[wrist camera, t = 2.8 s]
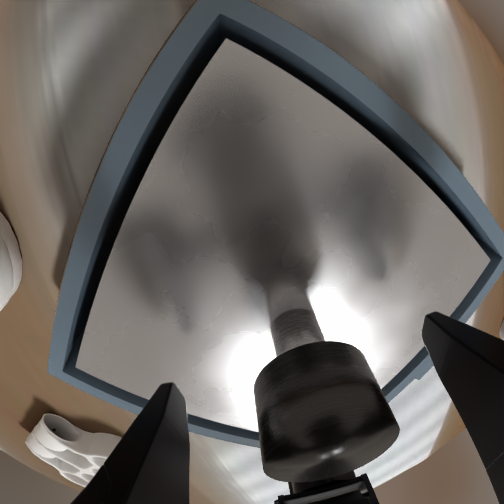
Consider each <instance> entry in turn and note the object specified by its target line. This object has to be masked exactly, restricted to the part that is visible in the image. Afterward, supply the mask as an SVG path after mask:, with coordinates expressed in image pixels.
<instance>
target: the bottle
mask: <svg viewBox="0 0 504 504" xmlns="http://www.w3.org/2000/svg"><path fill="white" fill-rule="evenodd" d="M21 278H22V259H21V255H20V251H19V246H18V242H17V240H16V237H15V235H14V233H13V231H12V229H11V227H10V224H9V222H8V221H7V220H6V219H5V217H4V216H3V214H2V213H1V212H0V311H1V310H2V309H3V307H4V306H5V305H6V304H7V302H8V301H9V299H10V297H11V296H12V295H13V294H14V293H15V292H16V290H17V289H18V287H19V284H20V281H21Z"/></svg>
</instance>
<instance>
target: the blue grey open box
mask: <svg viewBox="0 0 504 504" xmlns="http://www.w3.org/2000/svg"><path fill="white" fill-rule="evenodd" d="M226 38H227V39H229V40H231V41H233V42H235V43H237V44H238V45H240V46H242V47H244V48H246V49H248V50H250V51H252V52H253V53H255V54H257V55H259V56H260V57H262V58H264V59H266V60H267V61H269V62H271V63H272V64H274V65H276V66H277V67H279V68H281V69H282V70H284V71H286V72H287V73H289V74H290V75H292V76H293V77H295V78H297V79H298V80H300V81H301V82H303V83H304V84H306V85H307V86H309V87H310V88H312V89H313V90H315V91H316V92H317V93H319V94H320V95H322V96H323V97H325V98H326V99H327V100H329V101H330V102H331V103H333V104H334V105H336V106H337V107H338V108H340V109H341V110H342V111H343V112H345V113H346V114H347V115H349V116H350V117H351V118H353V119H354V120H355V121H356V122H358V123H359V124H360V125H361V126H363V127H364V128H365V129H366V130H367V131H369V132H370V133H371V134H372V135H373V136H375V137H376V138H377V139H378V140H379V141H380V142H382V143H383V144H384V145H385V146H386V147H387V148H388V149H390V150H391V151H392V152H393V153H394V154H395V155H396V156H397V157H398V158H399V159H401V160H402V161H403V162H404V163H405V164H406V165H407V166H408V167H409V168H410V169H411V170H412V171H413V172H414V173H415V174H416V175H417V176H418V177H419V178H420V179H421V180H422V181H423V182H424V183H425V184H426V185H427V186H428V187H429V188H430V189H431V190H432V191H433V192H434V193H435V194H436V195H437V196H438V197H439V198H440V199H441V201H442V202H443V203H444V204H445V205H446V206H447V207H448V208H449V209H450V211H451V212H452V213H453V214H454V215H455V216H456V217H457V219H458V220H459V221H460V222H461V223H462V224H463V226H464V227H465V228H466V229H467V230H468V232H469V233H470V234H471V235H472V237H473V238H474V239H475V240H476V242H477V243H478V244H479V245H480V247H481V248H482V249H483V251H484V252H485V253H486V255H487V256H488V257H489V259H490V262H489V263H488V265H487V266H486V268H485V269H484V271H483V272H482V274H481V275H480V277H479V278H478V280H477V281H476V283H475V284H474V285H473V287H472V288H471V289H470V291H469V292H468V294H467V295H466V296H465V298H464V299H463V300H462V302H461V303H460V304H459V305H458V307H457V308H456V309H455V311H454V312H453V313H452V314H451V315H450V317H451V318H454V319H456V320H458V321H460V322H463V323H466V322H467V320H468V319H469V318H470V317H471V315H472V314H473V313H474V312H475V310H476V309H477V308H478V306H479V305H480V304H481V302H482V301H483V300H484V298H485V297H486V295H487V294H488V293H489V291H490V290H491V288H492V287H493V285H494V284H495V283H496V281H497V280H498V278H499V277H500V275H501V273H502V272H503V270H504V233H503V232H502V230H501V228H500V227H499V225H498V224H497V222H496V220H495V219H494V217H493V216H492V214H491V213H490V211H489V210H488V208H487V207H486V205H485V204H484V203H483V201H482V200H481V198H480V197H479V195H478V194H477V193H476V191H475V190H474V189H473V187H472V186H471V185H470V183H469V182H468V181H467V179H466V178H465V177H464V176H463V174H462V173H461V172H460V170H459V169H458V168H457V167H456V166H455V164H454V163H453V162H452V161H451V160H450V158H449V157H448V156H447V155H446V154H445V152H444V151H443V150H442V149H441V148H440V147H439V146H438V145H437V143H436V142H435V141H434V140H433V139H432V138H431V137H430V136H429V135H428V134H427V133H426V131H425V130H424V129H423V128H422V127H421V126H420V125H419V124H418V123H417V122H416V121H415V120H414V119H413V118H412V117H411V116H410V115H409V114H408V113H407V112H406V111H405V110H404V109H403V108H402V107H400V106H399V105H398V104H397V103H396V102H395V101H394V100H393V99H392V98H391V97H390V96H389V95H387V94H386V93H385V92H384V91H383V90H382V89H381V88H379V87H378V86H377V85H376V84H375V83H374V82H372V81H371V80H370V79H369V78H368V77H366V76H365V75H364V74H363V73H361V72H360V71H359V70H358V69H356V68H355V67H354V66H352V65H351V64H350V63H349V62H347V61H346V60H345V59H343V58H342V57H341V56H339V55H338V54H336V53H335V52H334V51H332V50H331V49H329V48H328V47H327V46H325V45H324V44H322V43H321V42H319V41H318V40H316V39H315V38H313V37H312V36H310V35H309V34H307V33H305V32H304V31H302V30H301V29H299V28H297V27H296V26H294V25H292V24H291V23H289V22H287V21H286V20H284V19H282V18H280V17H279V16H277V15H275V14H273V13H271V12H270V11H268V10H266V9H264V8H262V7H260V6H258V5H256V4H254V3H252V2H250V1H248V0H198V1H197V2H196V3H195V5H194V6H193V7H192V8H191V10H190V11H189V12H188V14H187V15H186V16H185V18H184V19H183V20H182V22H181V23H180V24H179V26H178V27H177V29H176V30H175V31H174V33H173V34H172V36H171V37H170V38H169V40H168V41H167V43H166V44H165V46H164V47H163V49H162V50H161V52H160V53H159V55H158V57H157V58H156V60H155V61H154V63H153V64H152V66H151V68H150V69H149V71H148V73H147V74H146V76H145V78H144V79H143V81H142V83H141V85H140V86H139V88H138V90H137V92H136V93H135V95H134V97H133V99H132V101H131V103H130V104H129V106H128V108H127V110H126V112H125V114H124V116H123V118H122V120H121V122H120V124H119V126H118V128H117V130H116V132H115V134H114V136H113V138H112V141H111V143H110V145H109V147H108V149H107V152H106V154H105V156H104V158H103V161H102V163H101V165H100V168H99V170H98V173H97V175H96V178H95V180H94V183H93V185H92V188H91V191H90V193H89V196H88V199H87V201H86V204H85V207H84V210H83V213H82V216H81V219H80V222H79V225H78V228H77V231H76V234H75V238H74V241H73V244H72V248H71V251H70V255H69V258H68V262H67V266H66V270H65V274H64V278H63V282H62V286H61V291H60V295H59V300H58V305H57V310H56V315H55V321H54V327H53V333H52V339H51V346H50V354H49V363H48V373H49V374H51V375H53V376H55V377H57V378H59V379H60V380H62V381H64V382H66V383H68V384H70V385H72V386H74V387H76V388H78V389H80V390H82V391H84V392H86V393H88V394H90V395H93V396H95V397H97V398H99V399H101V400H104V401H106V402H108V403H111V404H113V405H115V406H118V407H120V408H123V409H125V410H128V411H130V412H133V413H135V414H138V415H139V413H140V412H141V411H142V409H143V408H144V407H145V405H146V404H147V402H148V401H149V400H148V399H145V398H143V397H140V396H138V395H135V394H133V393H130V392H128V391H125V390H123V389H121V388H118V387H116V386H114V385H112V384H109V383H107V382H105V381H103V380H101V379H98V378H96V377H94V376H92V375H90V374H88V373H86V372H84V371H82V370H80V369H78V368H76V363H77V358H78V354H79V350H80V347H81V343H82V339H83V335H84V332H85V328H86V325H87V321H88V318H89V315H90V311H91V308H92V305H93V302H94V299H95V296H96V293H97V290H98V287H99V284H100V281H101V278H102V275H103V272H104V269H105V267H106V264H107V261H108V258H109V256H110V253H111V251H112V248H113V245H114V243H115V240H116V238H117V235H118V233H119V230H120V228H121V226H122V223H123V221H124V219H125V216H126V214H127V212H128V209H129V207H130V205H131V203H132V200H133V198H134V196H135V194H136V192H137V189H138V187H139V185H140V183H141V181H142V179H143V177H144V175H145V173H146V171H147V169H148V167H149V165H150V163H151V161H152V159H153V157H154V155H155V153H156V151H157V149H158V147H159V145H160V143H161V142H162V140H163V138H164V136H165V134H166V132H167V131H168V129H169V127H170V125H171V123H172V122H173V120H174V118H175V116H176V115H177V113H178V111H179V109H180V108H181V106H182V104H183V103H184V101H185V99H186V98H187V96H188V95H189V93H190V91H191V90H192V88H193V86H194V85H195V83H196V82H197V80H198V79H199V77H200V76H201V74H202V72H203V71H204V69H205V68H206V66H207V65H208V63H209V62H210V61H211V59H212V58H213V56H214V55H215V53H216V52H217V50H218V49H219V48H220V46H221V45H222V43H223V42H224V41H225V39H226ZM433 365H434V364H433V362H432V360H431V358H430V355H429V353H428V351H427V349H426V347H425V346H424V347H423V348H422V349H421V350H420V351H419V352H418V353H417V354H416V355H415V356H414V357H413V359H412V360H411V361H410V362H409V363H408V364H407V365H406V366H405V367H404V368H403V369H402V370H401V371H400V372H399V373H398V374H397V375H396V376H395V377H394V378H392V379H391V380H390V381H389V382H388V383H387V384H386V385H385V386H384V387H383V388H382V389H381V390H382V392H383V394H384V396H385V398H386V400H387V402H388V403H389V402H390V401H391V400H392V399H393V398H394V397H395V396H397V395H398V394H399V393H400V392H401V391H402V390H403V389H404V388H405V387H406V386H407V385H408V384H410V383H411V382H412V381H413V380H414V379H418V380H420V379H421V378H422V377H423V376H424V375H425V374H426V373H427V372H428V371H429V370H430V369H431V368H432V366H433ZM187 421H188V431H189V432H193V433H196V434H200V435H204V436H208V437H211V438H216V439H220V440H224V441H228V442H233V443H237V444H242V445H247V446H252V447H258V448H260V440H259V432H256V431H251V430H247V429H243V428H238V427H234V426H230V425H226V424H223V423H219V422H215V421H212V420H208V419H205V418H201V417H198V416H194V415H191V414H188V413H187Z"/></svg>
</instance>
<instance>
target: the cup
mask: <svg viewBox="0 0 504 504" xmlns="http://www.w3.org/2000/svg"><path fill="white" fill-rule="evenodd" d="M499 335H500V338H501V339H502V340H504V320H503V322H502V324H501V327H500V332H499Z"/></svg>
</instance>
